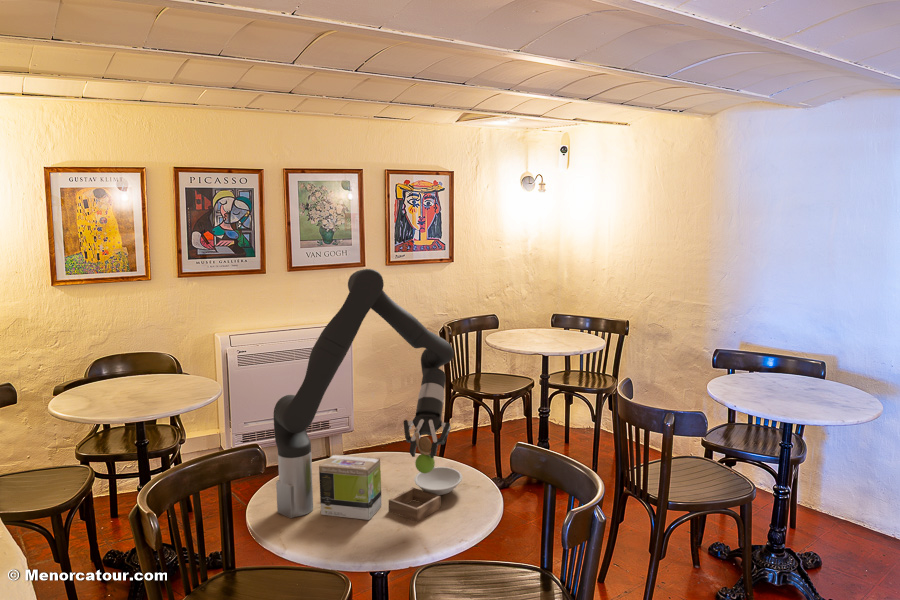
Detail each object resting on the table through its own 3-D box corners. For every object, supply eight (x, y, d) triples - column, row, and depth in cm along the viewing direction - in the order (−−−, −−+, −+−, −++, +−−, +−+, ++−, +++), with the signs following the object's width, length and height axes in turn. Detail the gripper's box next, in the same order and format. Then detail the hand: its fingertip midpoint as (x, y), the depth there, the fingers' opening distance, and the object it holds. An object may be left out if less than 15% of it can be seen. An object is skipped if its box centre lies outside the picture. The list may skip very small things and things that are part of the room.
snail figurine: (422, 466, 182) (421, 426, 181) (438, 472, 178) (438, 430, 177) (408, 472, 178) (408, 430, 177) (425, 477, 174) (425, 435, 173)
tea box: (382, 506, 184) (381, 457, 183) (369, 521, 175) (367, 470, 173) (335, 500, 188) (333, 452, 187) (319, 515, 179) (317, 465, 177)
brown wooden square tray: (417, 521, 174) (417, 509, 174) (388, 511, 181) (388, 499, 180) (440, 507, 183) (440, 496, 182) (412, 498, 189) (412, 487, 189)
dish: (457, 507, 183) (457, 491, 182) (408, 504, 185) (408, 487, 185) (466, 483, 200) (466, 468, 199) (422, 480, 203) (421, 465, 202)
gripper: (404, 394, 184) (394, 449, 174) (453, 396, 182) (446, 452, 171) (408, 407, 190) (399, 460, 180) (455, 409, 188) (449, 463, 177)
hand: (422, 456), depth 176 cm, fingers closed on snail figurine, 4 cm apart
